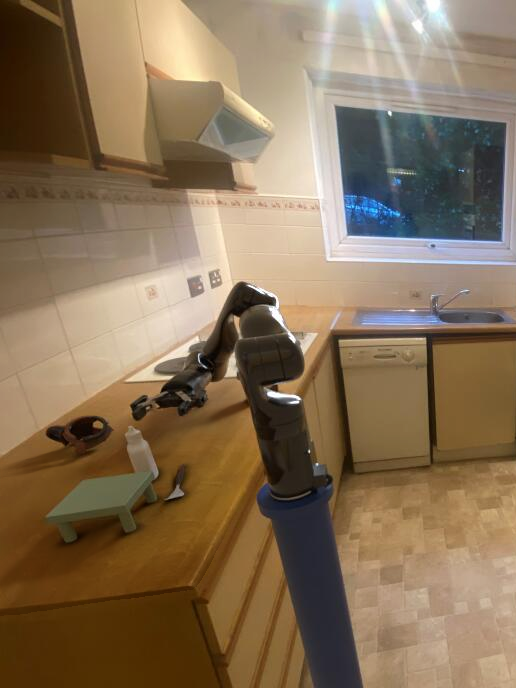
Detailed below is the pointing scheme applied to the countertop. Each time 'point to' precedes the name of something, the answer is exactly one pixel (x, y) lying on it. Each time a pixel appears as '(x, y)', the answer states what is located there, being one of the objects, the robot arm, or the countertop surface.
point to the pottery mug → (81, 433)
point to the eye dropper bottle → (140, 452)
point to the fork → (177, 491)
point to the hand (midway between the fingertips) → (158, 414)
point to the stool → (102, 501)
